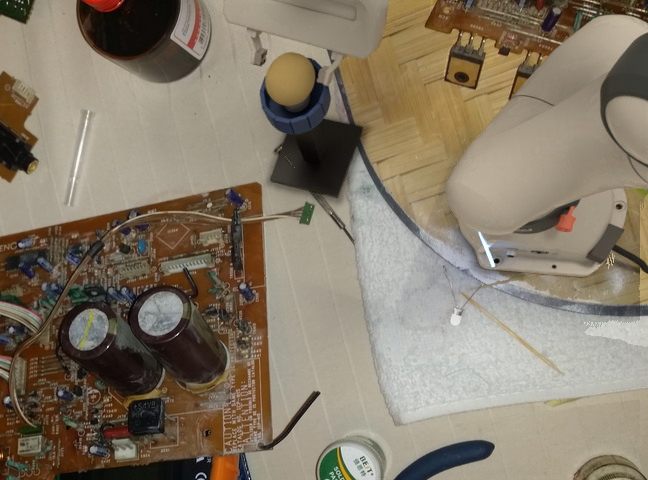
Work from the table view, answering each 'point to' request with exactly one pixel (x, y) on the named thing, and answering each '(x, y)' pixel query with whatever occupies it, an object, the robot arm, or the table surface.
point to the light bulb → (290, 81)
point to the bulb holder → (304, 118)
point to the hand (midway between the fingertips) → (290, 73)
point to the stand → (318, 158)
